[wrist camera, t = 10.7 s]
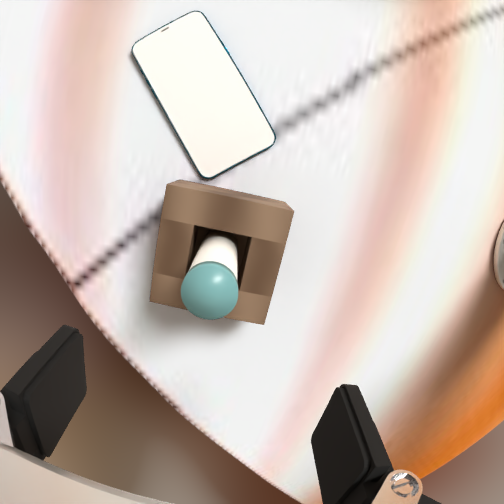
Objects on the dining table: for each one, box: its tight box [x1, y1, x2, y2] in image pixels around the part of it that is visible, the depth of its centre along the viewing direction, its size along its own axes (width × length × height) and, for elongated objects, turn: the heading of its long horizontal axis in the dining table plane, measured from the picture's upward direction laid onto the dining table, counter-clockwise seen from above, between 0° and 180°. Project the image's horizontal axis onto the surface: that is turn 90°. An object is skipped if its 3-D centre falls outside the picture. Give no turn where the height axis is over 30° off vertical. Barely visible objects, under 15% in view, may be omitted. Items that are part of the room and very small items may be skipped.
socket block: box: [150, 180, 294, 325], centre depth 28 cm, size 10×10×6 cm
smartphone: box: [132, 11, 276, 178], centre depth 27 cm, size 8×1×16 cm
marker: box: [181, 229, 238, 320], centre depth 24 cm, size 3×3×12 cm
